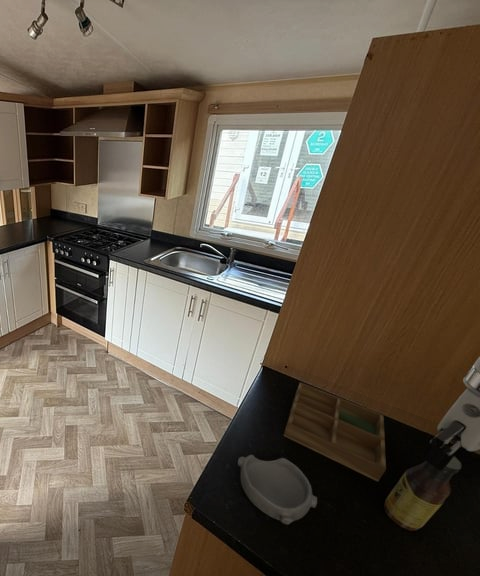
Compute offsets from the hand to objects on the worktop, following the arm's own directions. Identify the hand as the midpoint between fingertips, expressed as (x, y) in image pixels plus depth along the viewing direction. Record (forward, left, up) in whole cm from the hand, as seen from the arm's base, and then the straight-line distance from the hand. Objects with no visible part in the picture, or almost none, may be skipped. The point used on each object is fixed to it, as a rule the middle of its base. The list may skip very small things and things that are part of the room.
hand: (446, 455), depth 58 cm
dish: (+22, -13, -21) cm, 33 cm away
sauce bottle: (0, 0, -21) cm, 21 cm away
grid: (-7, -20, -20) cm, 30 cm away
